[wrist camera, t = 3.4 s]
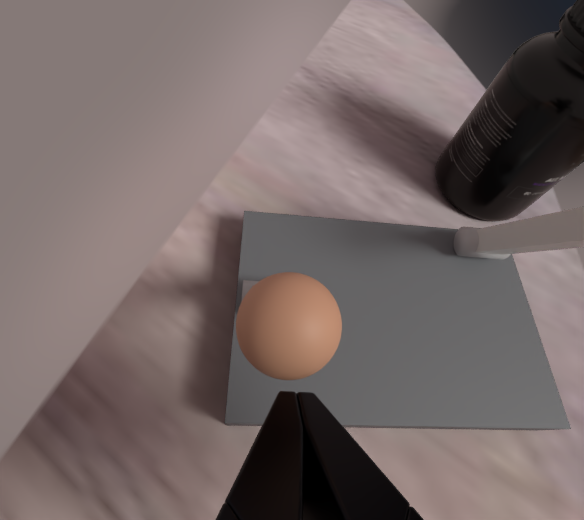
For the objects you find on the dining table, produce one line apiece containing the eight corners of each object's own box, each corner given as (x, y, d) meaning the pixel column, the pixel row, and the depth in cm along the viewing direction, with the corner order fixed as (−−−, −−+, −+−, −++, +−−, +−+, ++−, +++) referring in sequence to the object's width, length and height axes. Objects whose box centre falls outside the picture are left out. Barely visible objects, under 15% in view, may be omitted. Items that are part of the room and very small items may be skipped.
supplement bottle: (519, 239, 23) (753, 70, 13) (424, 202, 23) (573, 8, 13) (523, 171, 26) (711, -8, 16) (439, 139, 27) (568, -55, 16)
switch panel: (537, 430, 17) (571, 428, 15) (226, 425, 15) (224, 423, 14) (483, 250, 22) (504, 233, 20) (243, 230, 20) (244, 210, 19)
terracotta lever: (291, 323, 16) (358, 398, 6) (240, 320, 16) (222, 394, 6) (294, 277, 16) (363, 275, 6) (244, 273, 16) (232, 266, 6)
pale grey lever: (492, 265, 19) (753, 251, 9) (452, 262, 19) (677, 244, 9) (493, 227, 20) (752, 172, 9) (454, 223, 19) (677, 163, 9)
